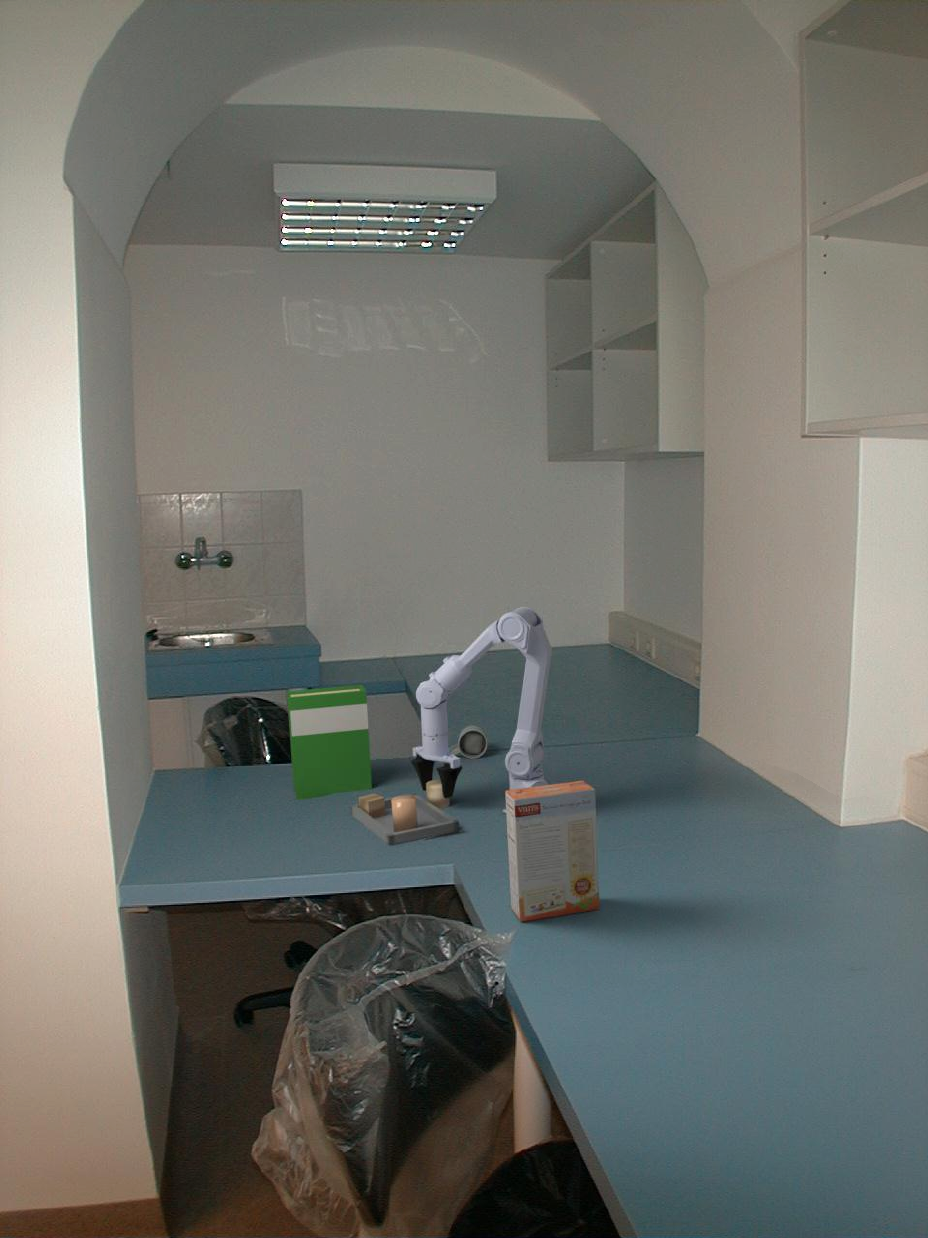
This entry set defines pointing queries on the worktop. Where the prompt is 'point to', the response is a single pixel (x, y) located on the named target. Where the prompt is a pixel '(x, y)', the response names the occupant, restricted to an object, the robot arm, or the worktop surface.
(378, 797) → the oak cube
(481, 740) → the ceramic mug
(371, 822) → the tray
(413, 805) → the tan rounded cylinder
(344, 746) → the hardback book
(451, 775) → the robot arm
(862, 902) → the worktop surface
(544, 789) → the cracker box
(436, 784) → the beige oval piece
